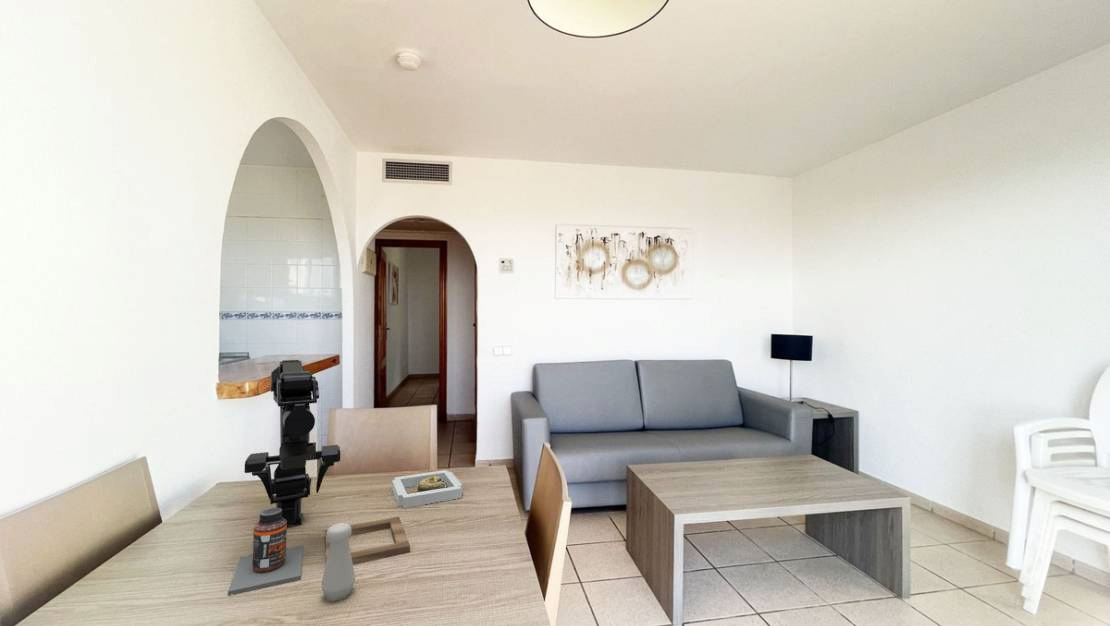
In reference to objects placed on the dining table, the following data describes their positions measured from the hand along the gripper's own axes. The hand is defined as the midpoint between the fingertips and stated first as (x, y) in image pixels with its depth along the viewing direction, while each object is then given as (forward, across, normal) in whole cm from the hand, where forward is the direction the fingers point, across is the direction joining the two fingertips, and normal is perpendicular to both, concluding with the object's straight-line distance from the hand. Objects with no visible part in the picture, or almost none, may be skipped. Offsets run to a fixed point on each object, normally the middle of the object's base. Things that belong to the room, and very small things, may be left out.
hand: (294, 495), depth 104 cm
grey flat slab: (+12, -4, -8) cm, 15 cm away
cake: (+12, +36, +21) cm, 43 cm away
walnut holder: (+12, +15, -5) cm, 20 cm away
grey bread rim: (+12, +34, +21) cm, 42 cm away
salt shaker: (+12, +9, -24) cm, 28 cm away
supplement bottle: (+11, -4, -8) cm, 14 cm away
